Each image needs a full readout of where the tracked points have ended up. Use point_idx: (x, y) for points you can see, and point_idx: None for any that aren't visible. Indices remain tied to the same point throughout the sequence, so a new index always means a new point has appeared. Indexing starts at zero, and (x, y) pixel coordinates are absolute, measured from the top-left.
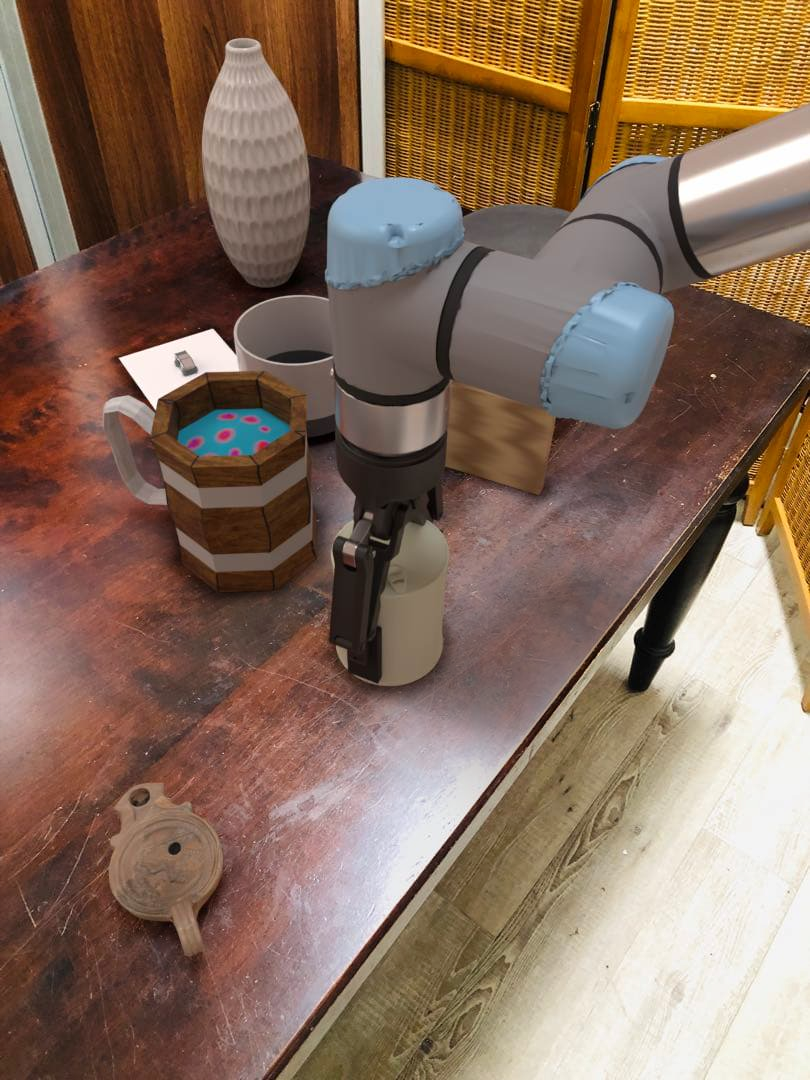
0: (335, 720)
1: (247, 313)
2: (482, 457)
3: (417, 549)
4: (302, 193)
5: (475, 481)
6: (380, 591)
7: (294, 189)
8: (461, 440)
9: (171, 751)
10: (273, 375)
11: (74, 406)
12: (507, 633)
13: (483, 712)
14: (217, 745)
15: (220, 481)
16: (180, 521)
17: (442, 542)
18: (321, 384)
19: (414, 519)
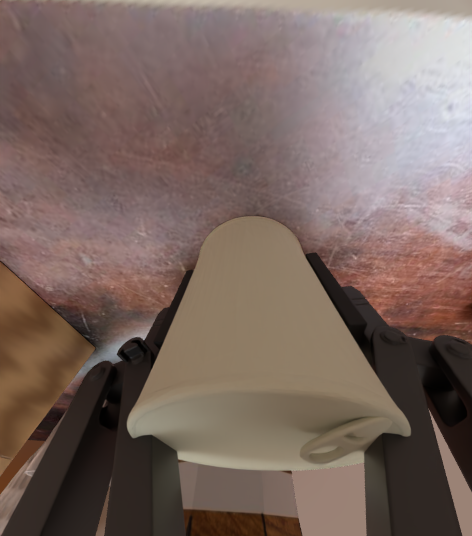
0: (353, 258)
1: (109, 485)
2: (13, 317)
3: (217, 427)
4: (3, 507)
5: (48, 298)
6: (425, 460)
7: (4, 518)
8: (19, 345)
9: (410, 326)
10: None
11: None
12: (153, 166)
13: (280, 116)
14: (400, 309)
15: (289, 532)
16: None
17: (151, 413)
18: None
19: (160, 477)
